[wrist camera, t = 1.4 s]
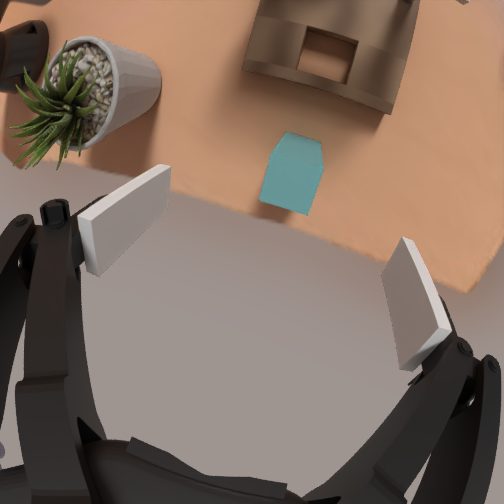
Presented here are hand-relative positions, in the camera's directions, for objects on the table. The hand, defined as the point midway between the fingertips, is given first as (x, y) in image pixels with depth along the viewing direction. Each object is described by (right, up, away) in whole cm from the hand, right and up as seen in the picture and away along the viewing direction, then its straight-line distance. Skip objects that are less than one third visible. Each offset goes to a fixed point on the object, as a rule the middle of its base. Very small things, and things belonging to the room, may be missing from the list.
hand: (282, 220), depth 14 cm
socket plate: (+7, +22, +6) cm, 25 cm away
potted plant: (-17, +20, +15) cm, 30 cm away
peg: (+4, +10, +16) cm, 19 cm away
